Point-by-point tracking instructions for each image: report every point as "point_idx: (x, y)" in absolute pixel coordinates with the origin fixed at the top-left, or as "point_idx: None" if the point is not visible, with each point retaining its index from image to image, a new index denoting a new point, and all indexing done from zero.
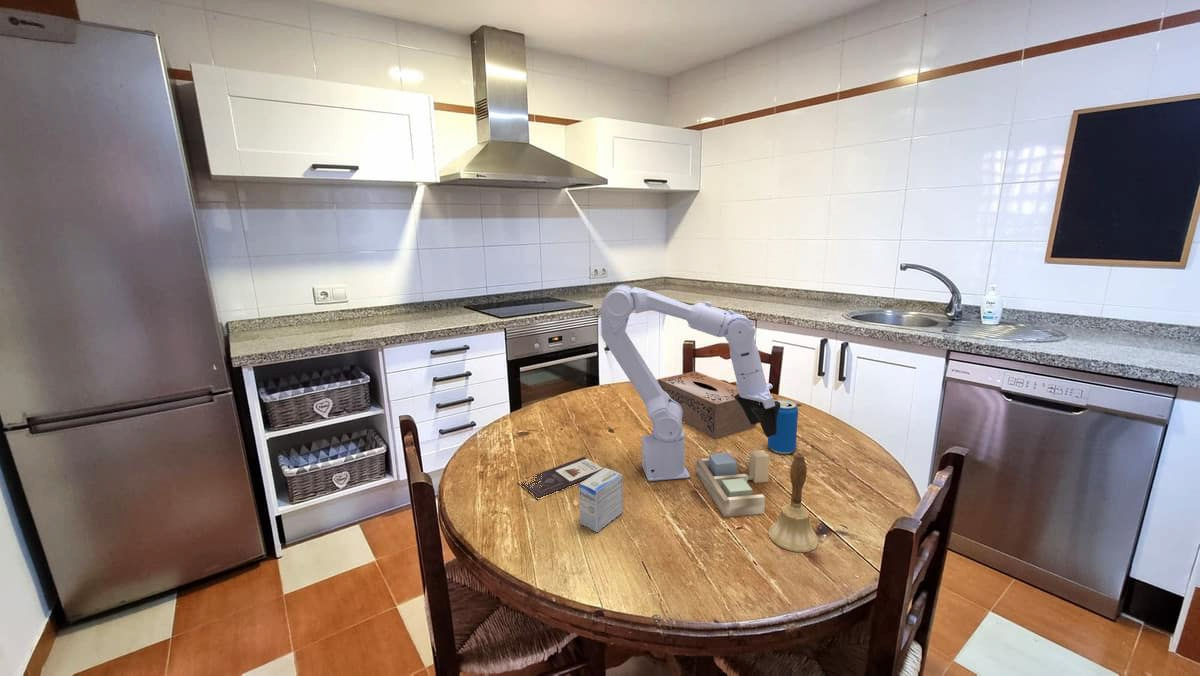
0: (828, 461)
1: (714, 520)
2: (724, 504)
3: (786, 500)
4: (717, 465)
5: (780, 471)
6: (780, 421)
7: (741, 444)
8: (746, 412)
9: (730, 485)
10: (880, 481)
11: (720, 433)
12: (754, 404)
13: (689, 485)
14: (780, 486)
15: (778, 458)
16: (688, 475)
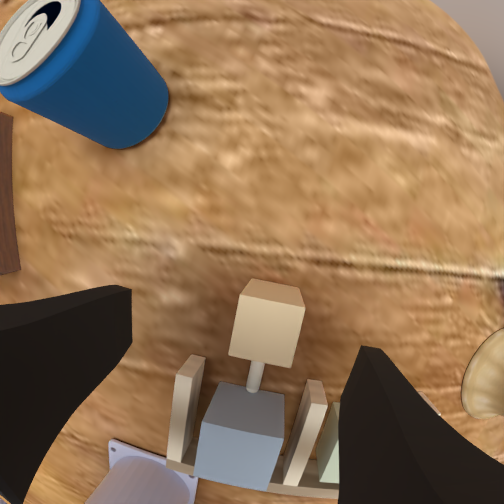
0: (253, 30)
1: None
2: None
3: (405, 302)
4: (267, 485)
5: (253, 202)
6: (90, 89)
7: (60, 213)
8: (77, 404)
9: None
10: (387, 7)
11: (8, 251)
12: (33, 368)
13: None
14: (337, 268)
15: (174, 152)
16: None
